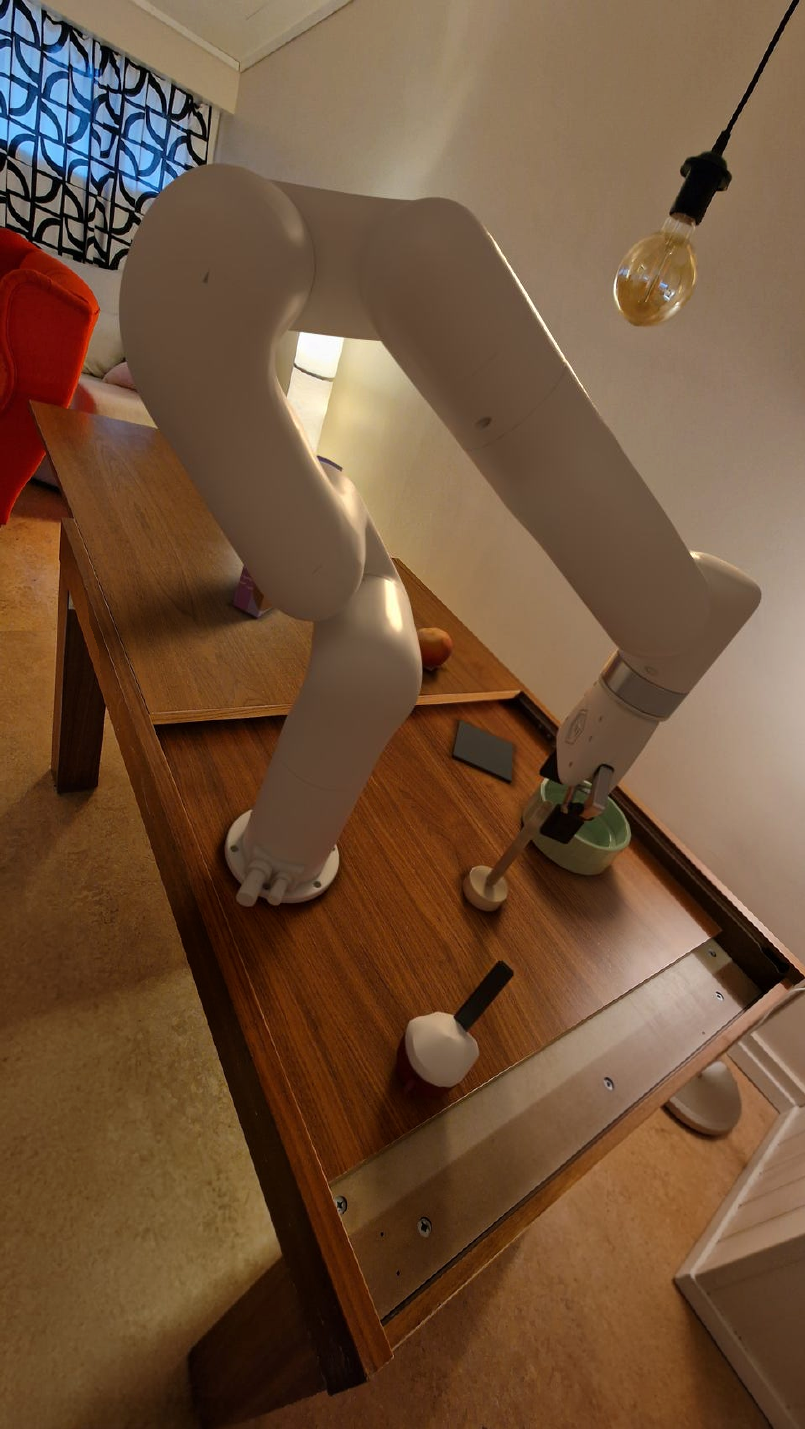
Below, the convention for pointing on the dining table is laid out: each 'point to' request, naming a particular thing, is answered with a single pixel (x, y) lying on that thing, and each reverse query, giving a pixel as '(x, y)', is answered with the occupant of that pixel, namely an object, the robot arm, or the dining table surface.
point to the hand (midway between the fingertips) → (551, 806)
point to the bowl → (581, 832)
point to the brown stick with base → (501, 866)
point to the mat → (484, 751)
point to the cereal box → (247, 590)
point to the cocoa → (446, 1041)
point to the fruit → (434, 647)
